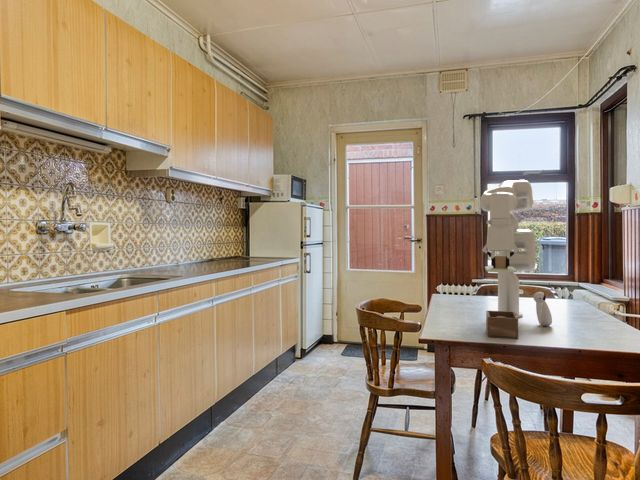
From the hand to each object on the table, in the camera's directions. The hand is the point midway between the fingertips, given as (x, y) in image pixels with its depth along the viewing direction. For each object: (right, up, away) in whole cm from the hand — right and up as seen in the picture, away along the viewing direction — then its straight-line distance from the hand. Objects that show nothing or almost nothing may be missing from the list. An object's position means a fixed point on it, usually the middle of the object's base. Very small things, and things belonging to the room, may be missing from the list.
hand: (500, 267), depth 174 cm
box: (+1, -27, +1) cm, 27 cm away
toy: (+24, -27, +14) cm, 39 cm away
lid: (0, -1, +1) cm, 1 cm away
